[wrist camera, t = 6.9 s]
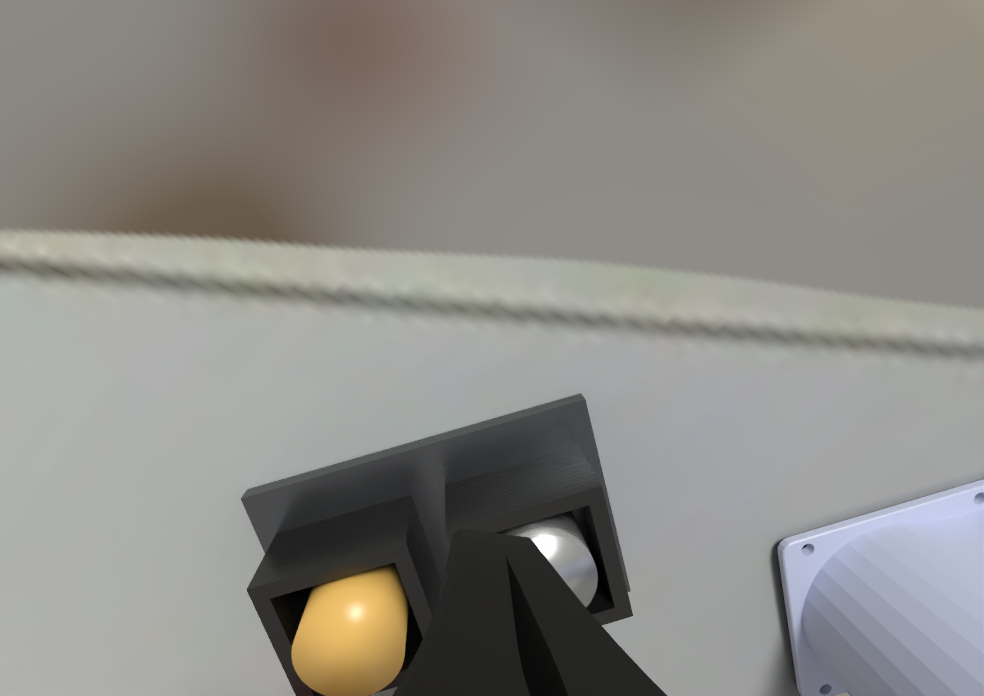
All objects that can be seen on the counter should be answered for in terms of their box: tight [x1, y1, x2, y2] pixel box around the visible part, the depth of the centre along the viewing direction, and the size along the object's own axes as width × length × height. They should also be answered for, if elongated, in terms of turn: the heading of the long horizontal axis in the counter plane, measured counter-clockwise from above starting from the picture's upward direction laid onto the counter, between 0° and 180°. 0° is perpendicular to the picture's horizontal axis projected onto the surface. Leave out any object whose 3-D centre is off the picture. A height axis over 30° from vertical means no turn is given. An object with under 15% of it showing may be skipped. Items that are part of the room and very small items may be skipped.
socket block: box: [241, 394, 633, 696], centre depth 18 cm, size 12×8×3 cm, turn 105°
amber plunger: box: [291, 562, 409, 696], centre depth 17 cm, size 3×3×3 cm
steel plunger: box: [496, 510, 598, 607], centre depth 17 cm, size 3×3×3 cm
